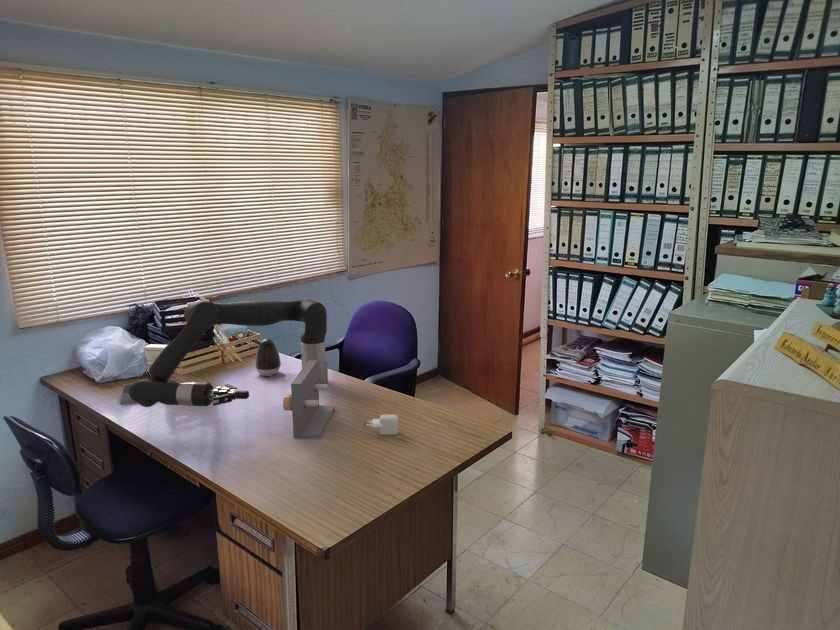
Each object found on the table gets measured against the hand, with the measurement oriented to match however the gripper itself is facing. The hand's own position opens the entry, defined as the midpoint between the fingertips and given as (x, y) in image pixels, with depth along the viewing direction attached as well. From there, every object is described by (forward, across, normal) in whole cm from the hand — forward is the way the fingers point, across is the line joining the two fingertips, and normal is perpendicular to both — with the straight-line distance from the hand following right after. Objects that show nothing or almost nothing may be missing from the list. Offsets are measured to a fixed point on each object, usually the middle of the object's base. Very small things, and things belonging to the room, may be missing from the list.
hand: (248, 394), depth 191 cm
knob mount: (+19, +7, +13) cm, 24 cm away
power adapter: (+42, 0, +13) cm, 44 cm away
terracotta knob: (+17, 0, +5) cm, 18 cm away
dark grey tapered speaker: (-11, +55, +13) cm, 58 cm away
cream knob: (+17, +15, +5) cm, 23 cm away
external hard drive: (-47, +29, +13) cm, 57 cm away
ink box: (-56, +54, +12) cm, 79 cm away
